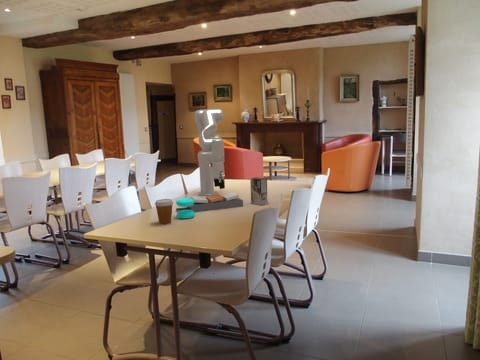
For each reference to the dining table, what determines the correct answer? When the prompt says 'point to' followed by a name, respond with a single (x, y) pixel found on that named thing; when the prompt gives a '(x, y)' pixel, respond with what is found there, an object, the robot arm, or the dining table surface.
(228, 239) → the dining table surface
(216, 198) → the rocker middle orange
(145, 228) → the dining table surface
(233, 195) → the rocker far grey
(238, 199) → the long grey tray
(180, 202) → the donuts
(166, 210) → the disposable coffee cup
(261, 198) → the coffee box
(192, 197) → the rocker near grey
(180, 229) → the dining table surface
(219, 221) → the dining table surface
